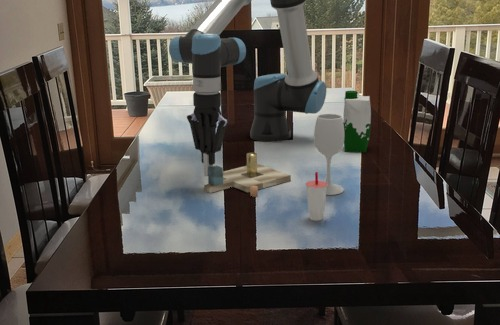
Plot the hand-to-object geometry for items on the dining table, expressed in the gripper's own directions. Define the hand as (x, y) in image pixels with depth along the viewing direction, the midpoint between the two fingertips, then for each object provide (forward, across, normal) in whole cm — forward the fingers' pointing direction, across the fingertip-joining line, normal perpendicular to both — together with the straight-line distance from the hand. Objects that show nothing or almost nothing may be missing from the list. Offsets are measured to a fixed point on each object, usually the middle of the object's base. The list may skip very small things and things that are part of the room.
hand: (208, 174), depth 174 cm
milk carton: (+3, +20, +58) cm, 61 cm away
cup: (+4, +36, -5) cm, 37 cm away
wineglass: (+4, +30, +15) cm, 34 cm away
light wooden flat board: (+4, +6, +8) cm, 11 cm away
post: (+4, +7, +12) cm, 14 cm away
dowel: (+4, +15, +1) cm, 15 cm away
